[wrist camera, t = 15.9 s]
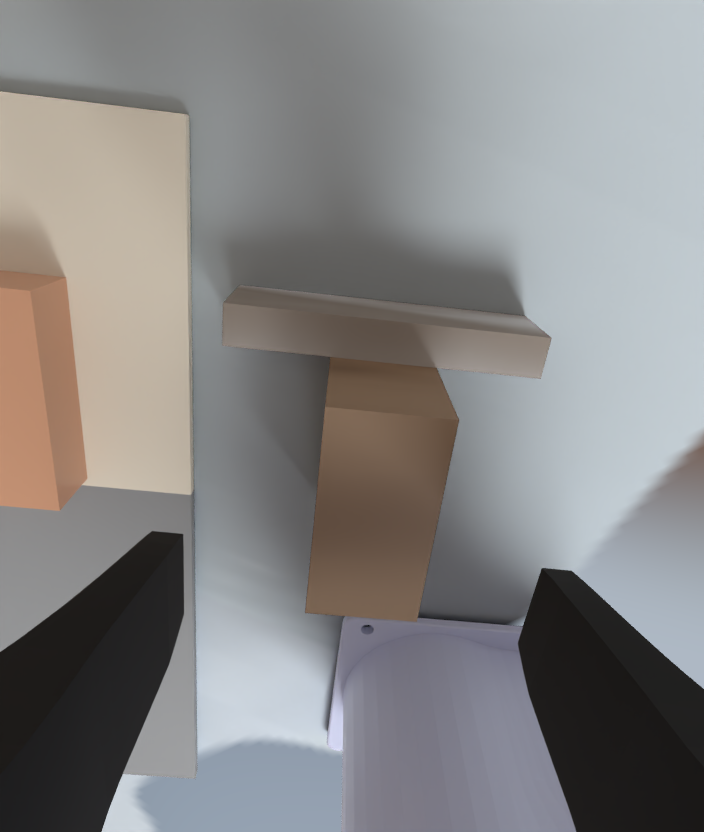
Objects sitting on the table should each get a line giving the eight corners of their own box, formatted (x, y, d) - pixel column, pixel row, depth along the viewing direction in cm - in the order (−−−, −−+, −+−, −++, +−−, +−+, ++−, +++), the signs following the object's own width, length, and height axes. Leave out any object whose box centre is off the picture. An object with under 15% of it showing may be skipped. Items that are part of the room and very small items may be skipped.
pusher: (478, 505, 20) (525, 630, 15) (235, 483, 20) (191, 603, 14) (524, 315, 17) (605, 383, 12) (240, 284, 17) (186, 340, 11)
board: (189, 115, 15) (185, 114, 15) (197, 770, 26) (195, 778, 26) (-351, 48, 14) (-370, 46, 14) (-102, 750, 26) (-108, 758, 25)
